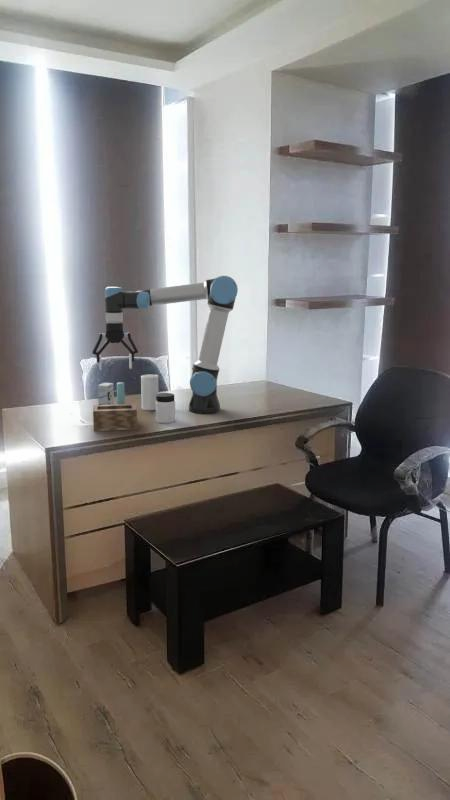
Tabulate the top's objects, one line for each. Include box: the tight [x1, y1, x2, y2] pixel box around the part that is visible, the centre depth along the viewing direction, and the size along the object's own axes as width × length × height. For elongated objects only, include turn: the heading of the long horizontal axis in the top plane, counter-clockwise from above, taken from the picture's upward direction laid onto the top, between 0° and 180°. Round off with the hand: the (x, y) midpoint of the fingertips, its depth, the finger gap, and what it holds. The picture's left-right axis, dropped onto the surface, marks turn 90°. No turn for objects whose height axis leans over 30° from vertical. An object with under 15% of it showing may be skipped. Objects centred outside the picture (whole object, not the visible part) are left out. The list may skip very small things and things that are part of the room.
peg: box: [116, 382, 126, 404], centre depth 278 cm, size 3×3×16 cm
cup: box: [140, 373, 159, 411], centre depth 297 cm, size 8×8×16 cm
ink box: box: [97, 382, 115, 405], centre depth 297 cm, size 9×5×12 cm, turn 168°
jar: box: [155, 392, 176, 424], centre depth 273 cm, size 9×8×12 cm
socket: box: [92, 403, 138, 432], centre depth 263 cm, size 18×12×8 cm, turn 102°
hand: (115, 369), depth 279 cm, fingers open, 13 cm apart
